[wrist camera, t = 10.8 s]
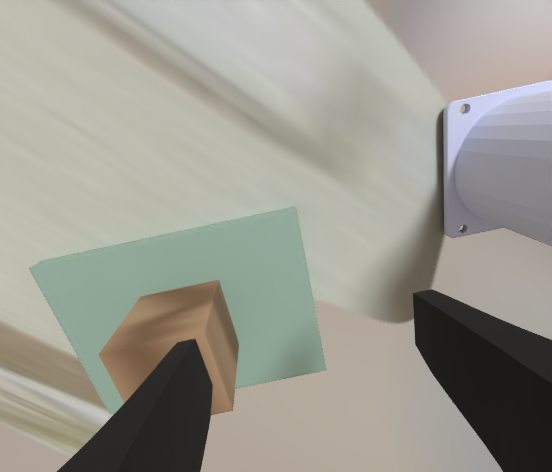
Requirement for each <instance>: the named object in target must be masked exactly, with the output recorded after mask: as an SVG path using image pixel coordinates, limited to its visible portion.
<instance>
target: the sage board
mask: <svg viewBox="0 0 552 472" xmlns="http://www.w3.org/2000/svg"><path fill="white" fill-rule="evenodd" d="M29 270H30V272H31V273H32V275H33V277H34V279H35V281H36V282H37V284H38V286H39V288H40V290H41V291H42V293H43V295H44V297H45V299H46V300H47V302H48V304H49V306H50V308H51V309H52V311H53V313H54V315H55V316H56V318H57V320H58V322H59V324H60V325H61V327H62V329H63V331H64V333H65V334H66V336H67V338H68V340H69V342H70V343H71V345H72V347H73V349H74V351H75V352H76V354H77V356H78V358H79V360H80V361H81V363H82V365H83V367H84V369H85V370H86V372H87V374H88V376H89V378H90V379H91V381H92V383H93V385H94V387H95V388H96V390H97V392H98V394H99V396H100V397H101V399H102V401H103V403H104V405H105V406H106V408H107V410H108V412H109V413H110V414H114V413H116V412H117V411H118V410H119V408H120V407H121V406H122V405H123V404H124V402H123V400H122V398H121V396H120V394H119V392H118V391H117V389H116V387H115V385H114V383H113V381H112V379H111V377H110V375H109V374H108V372H107V370H106V368H105V366H104V364H103V362H102V360H101V359H100V357H99V353H100V352H101V350H102V349H103V348H104V346H105V345H106V343H107V342H108V341H109V339H110V338H111V337H112V335H113V334H114V332H115V331H116V330H117V328H118V327H119V325H120V324H121V323H122V321H123V320H124V319H125V317H126V316H127V314H128V313H129V312H130V310H131V309H132V307H133V306H134V305H135V303H136V302H137V301H138V299H139V298H140V297H141V296H145V295H150V294H155V293H159V292H164V291H169V290H173V289H178V288H182V287H187V286H192V285H196V284H201V283H206V282H210V281H215V280H219V282H220V285H221V288H222V291H223V294H224V298H225V301H226V304H227V307H228V310H229V313H230V317H231V320H232V323H233V326H234V329H235V332H236V335H237V339H238V342H239V351H238V361H237V372H236V382H235V389H236V388H241V387H246V386H251V385H255V384H261V383H266V382H271V381H276V380H280V379H286V378H291V377H295V376H300V375H305V374H310V373H315V372H320V371H324V370H326V364H325V359H324V354H323V348H322V343H321V338H320V332H319V327H318V322H317V317H316V311H315V306H314V301H313V295H312V290H311V285H310V279H309V274H308V269H307V263H306V258H305V253H304V247H303V242H302V237H301V231H300V226H299V221H298V215H297V211H296V208H295V207H291V208H287V209H282V210H277V211H273V212H268V213H263V214H259V215H254V216H249V217H245V218H240V219H235V220H231V221H226V222H221V223H217V224H212V225H207V226H203V227H198V228H193V229H189V230H184V231H179V232H175V233H170V234H165V235H161V236H156V237H152V238H147V239H142V240H138V241H133V242H128V243H124V244H119V245H114V246H110V247H105V248H100V249H96V250H91V251H86V252H82V253H77V254H72V255H68V256H63V257H58V258H54V259H49V260H44V261H40V262H39V263H37V264H35V265H34V266H32V267H30V268H29Z"/></svg>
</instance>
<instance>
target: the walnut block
mask: <svg viewBox="0 0 552 472" xmlns="http://www.w3.org/2000/svg"><path fill="white" fill-rule="evenodd" d="M190 339H196V341H197V344H198V347H199V349H200V352H201V355H202V357H203V360H204V363H205V366H206V368H207V371H208V374H209V376H210V379H211V382H212V384H213V390H212V405H211V415H213V414H218V413H223V412H228V411H233V404H234V393H235V382H236V372H237V361H238V351H239V342H238V339H237V335H236V332H235V329H234V326H233V323H232V320H231V317H230V313H229V310H228V307H227V304H226V301H225V298H224V294H223V291H222V288H221V285H220V282H219V280H215V281H210V282H206V283H201V284H196V285H192V286H187V287H182V288H178V289H173V290H169V291H164V292H159V293H155V294H150V295H145V296H141V297H140V298H139V299H138V301H137V302H136V303H135V305H134V306H133V307H132V309H131V310H130V312H129V313H128V314H127V316H126V317H125V319H124V320H123V321H122V323H121V324H120V325H119V327H118V328H117V330H116V331H115V332H114V334H113V335H112V337H111V338H110V339H109V341H108V342H107V343H106V345H105V346H104V348H103V349H102V350H101V352H100V353H99V357H100V359H101V360H102V362H103V364H104V366H105V368H106V370H107V372H108V374H109V375H110V377H111V379H112V381H113V383H114V385H115V387H116V389H117V391H118V392H119V394H120V396H121V398H122V400H123V402H124V403H125V402H126V401H127V400H128V399H129V398H130V397H131V395H132V394H133V393H134V392H135V391H136V390H137V388H138V387H139V386H140V385H141V384H142V383H143V381H144V380H145V379H146V378H147V377H148V376H149V374H150V373H151V372H152V371H153V370H154V369H155V367H156V366H157V365H158V364H159V363H160V361H161V360H162V359H163V358H164V357H165V356H166V354H167V353H168V352H169V351H170V350H171V349H172V348H173V346H174V345H175V344H176V343H177V342H181V341H186V340H190Z"/></svg>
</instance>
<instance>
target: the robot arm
mask: <svg viewBox="0 0 552 472" xmlns="http://www.w3.org/2000/svg"><path fill="white" fill-rule="evenodd" d="M463 105H465V108H466V109H465V112H464V113H463V114H462V113H461V107H462V106H463ZM443 131H444V232H445V234H446V235H447V236H449V237H451V238H456V237H461V236H465V235H470V234H474V233H480V232H484V231H489V230H494V229H499V228H503V227H504V228H507V229H509V230H512V231H515V232H517V233H520V234H522V235H525V236H527V237H530V238H533V239H535V240H537V241H540V242H543V243H545V244H548V245H550V246H552V80H549V81H544V82H540V83H535V84H530V85H526V86H521V87H517V88H512V89H508V90H503V91H498V92H494V93H490V94H485V95H480V96H476V97H471V98H466V99H462V100H457V101H453V102H450V103H448V104H447V105H446V107H445V109H444V113H443ZM462 225H463V229H462V230H460V231H459V228H460V227H461V226H462ZM413 305H414V324H415V344H416V346H417V348H418V350H419V351H420V353H421V355H422V357H423V359H424V360H425V362H426V364H427V365H428V367H429V369H430V370H431V372H432V374H433V375H434V377H435V378H436V379H437V381H438V382H439V383H440V385H441V386H442V388H443V389H444V390H445V392H446V393H447V394H448V396H449V397H450V398H451V400H452V401H453V402H454V404H455V405H456V406H457V408H458V409H459V411H460V412H461V413H462V414H463V416H464V417H465V418H466V420H467V421H468V422H469V424H470V425H471V427H472V428H473V429H474V431H475V432H476V433H477V435H478V436H479V437H480V439H481V440H482V441H483V443H484V444H485V445H486V447H487V448H488V450H489V451H490V453H491V454H492V456H493V457H494V458H495V460H496V461H497V463H498V464H499V466H500V467H501V469H502V470H503V472H552V340H550V339H548V338H545V337H542V336H540V335H537V334H535V333H532V332H529V331H527V330H525V329H522V328H520V327H517V326H515V325H512V324H510V323H508V322H505V321H503V320H500V319H498V318H496V317H493V316H491V315H489V314H487V313H484V312H482V311H480V310H478V309H475V308H473V307H471V306H469V305H467V304H464V303H462V302H460V301H458V300H455V299H453V298H451V297H449V296H446V295H444V294H442V293H439V292H437V291H434V290H427V291H422V292H417V293H413ZM212 390H213V384H212V382H211V379H210V376H209V374H208V371H207V368H206V366H205V363H204V360H203V357H202V355H201V352H200V349H199V347H198V344H197V341H196V339H190V340H186V341H181V342H177V343H176V344H175V345H174V346H173V348H172V349H171V350H170V351H169V352H168V353H167V354H166V356H165V357H164V358H163V359H162V360H161V361H160V363H159V364H158V365H157V366H156V367H155V369H154V370H153V371H152V372H151V373H150V374H149V376H148V377H147V378H146V379H145V380H144V381H143V383H142V384H141V385H140V386H139V387H138V388H137V390H136V391H135V392H134V393H133V394H132V395H131V397H130V398H129V399H128V400H127V401H126V402H125V403H124V404H123V405H122V406H121V407H120V408H119V410H118V411H117V412H116V413H115V414H114V415H113V416H112V417H111V418H110V419H109V420H108V422H107V423H106V424H105V425H104V426H103V427H102V428H101V429H100V430H99V431H98V432H97V433H96V434H95V435H94V436H93V437H92V438H91V439H90V440H89V441H88V442H87V443H86V444H85V445H84V446H83V447H82V448H81V449H80V450H79V451H78V452H77V453H76V454H75V455H74V456H73V457H72V458H71V459H70V460H69V461H68V462H67V463H66V464H65V465H63V467H61V468H60V469H59V470H58V471H57V472H200V470H201V465H202V460H203V455H204V450H205V444H206V439H207V434H208V429H209V423H210V416H211V405H212Z"/></svg>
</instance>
